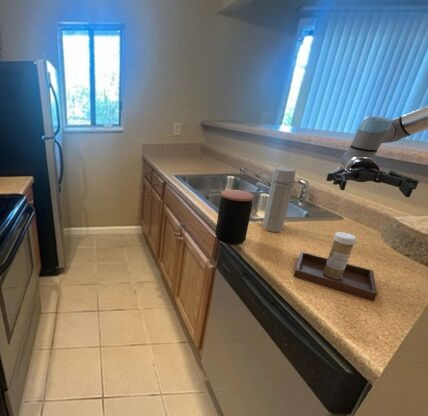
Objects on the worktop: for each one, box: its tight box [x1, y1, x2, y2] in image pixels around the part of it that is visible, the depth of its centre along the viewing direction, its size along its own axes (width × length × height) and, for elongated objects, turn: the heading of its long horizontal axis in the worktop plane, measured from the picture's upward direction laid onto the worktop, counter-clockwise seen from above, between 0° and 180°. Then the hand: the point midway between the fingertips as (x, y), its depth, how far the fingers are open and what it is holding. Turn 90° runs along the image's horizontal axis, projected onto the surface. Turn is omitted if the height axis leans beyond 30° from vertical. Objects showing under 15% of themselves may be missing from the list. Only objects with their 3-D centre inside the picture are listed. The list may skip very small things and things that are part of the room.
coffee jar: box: [214, 189, 255, 245], centre depth 102 cm, size 11×11×18 cm
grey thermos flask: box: [262, 166, 297, 233], centre depth 107 cm, size 9×8×25 cm
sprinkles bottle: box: [323, 231, 357, 279], centre depth 79 cm, size 5×5×13 cm
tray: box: [293, 251, 378, 302], centre depth 81 cm, size 18×14×2 cm
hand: (375, 189), depth 77 cm, fingers open, 13 cm apart
